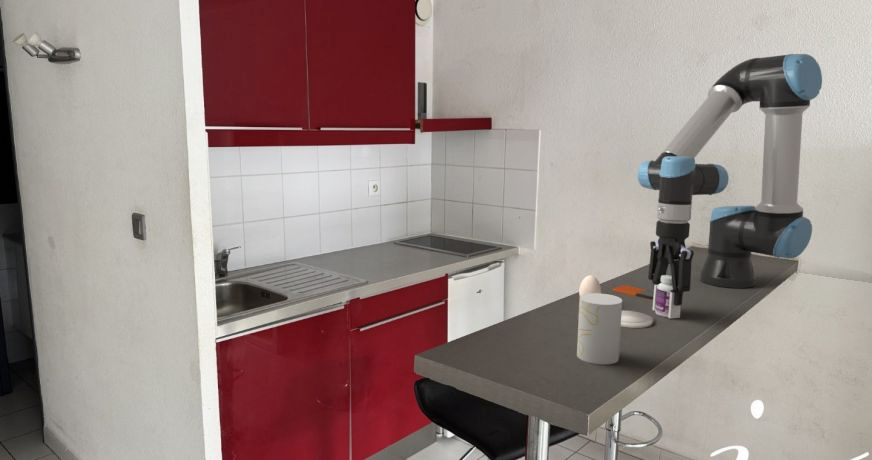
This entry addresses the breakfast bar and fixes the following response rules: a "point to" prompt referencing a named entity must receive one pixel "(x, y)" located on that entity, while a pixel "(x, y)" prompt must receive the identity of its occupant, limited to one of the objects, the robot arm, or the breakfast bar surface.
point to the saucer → (635, 320)
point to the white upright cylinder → (599, 328)
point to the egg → (589, 285)
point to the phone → (635, 292)
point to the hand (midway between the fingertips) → (665, 313)
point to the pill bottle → (663, 296)
